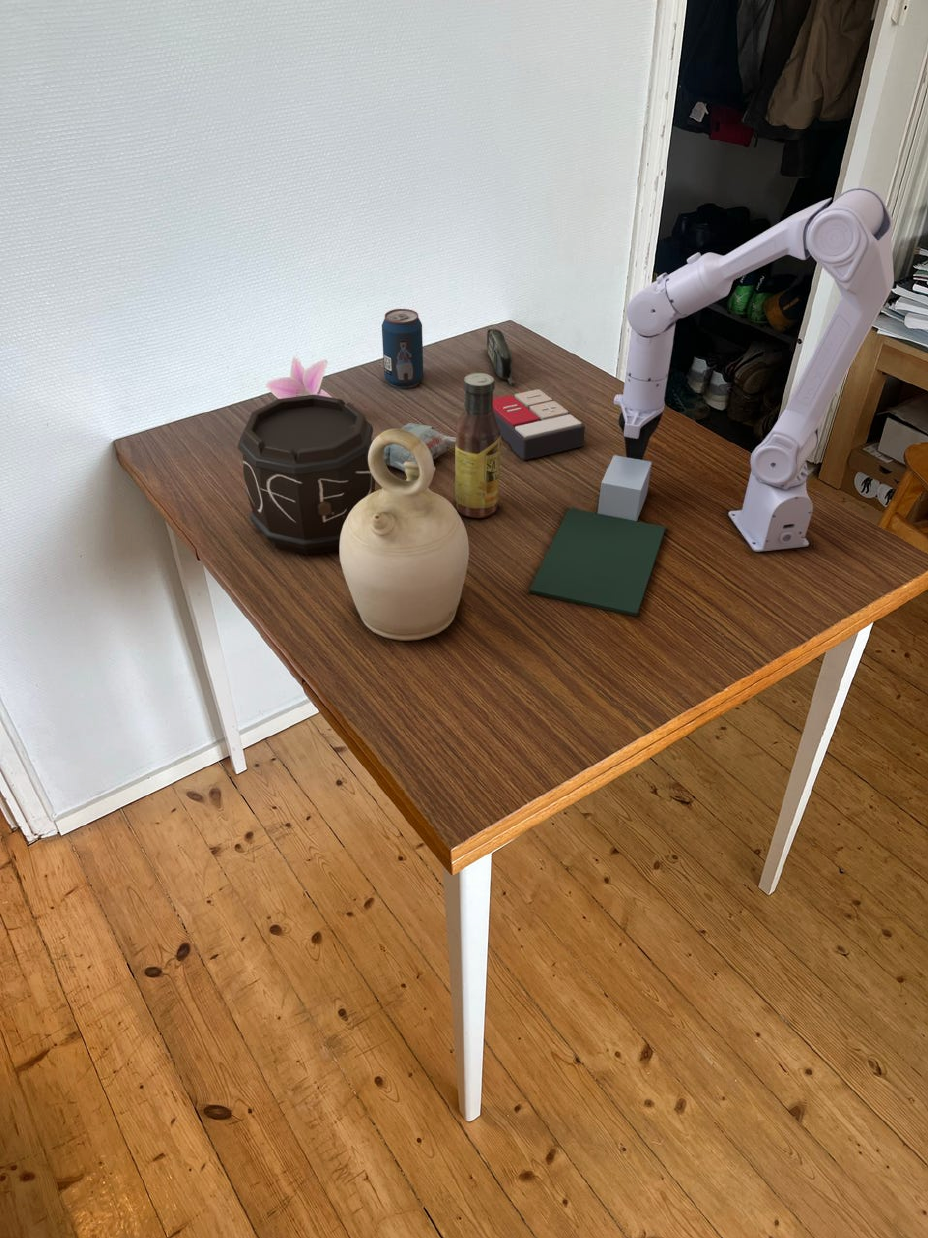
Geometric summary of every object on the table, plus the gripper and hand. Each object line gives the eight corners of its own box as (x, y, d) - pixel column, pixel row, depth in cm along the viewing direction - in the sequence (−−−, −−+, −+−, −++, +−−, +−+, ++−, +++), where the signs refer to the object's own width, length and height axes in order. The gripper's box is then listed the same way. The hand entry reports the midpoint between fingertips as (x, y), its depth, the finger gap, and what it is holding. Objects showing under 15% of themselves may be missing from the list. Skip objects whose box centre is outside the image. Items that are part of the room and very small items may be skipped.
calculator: (540, 385, 155) (586, 421, 144) (539, 409, 158) (584, 446, 147) (481, 398, 151) (524, 435, 141) (481, 422, 154) (523, 460, 143)
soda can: (407, 368, 168) (405, 303, 160) (431, 382, 164) (430, 316, 156) (376, 379, 165) (372, 313, 157) (399, 393, 161) (397, 326, 153)
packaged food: (458, 454, 145) (458, 426, 142) (412, 487, 137) (411, 458, 134) (414, 439, 149) (412, 411, 146) (367, 470, 141) (365, 442, 138)
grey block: (609, 487, 138) (613, 454, 134) (647, 494, 136) (652, 461, 133) (597, 515, 132) (601, 482, 128) (636, 523, 131) (641, 489, 127)
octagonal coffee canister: (260, 571, 122) (242, 468, 112) (245, 499, 135) (228, 400, 125) (393, 549, 126) (387, 447, 116) (366, 481, 139) (359, 384, 129)
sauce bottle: (494, 522, 131) (498, 393, 118) (450, 517, 132) (450, 388, 119) (501, 498, 136) (506, 371, 123) (460, 493, 136) (460, 367, 124)
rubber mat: (568, 511, 133) (568, 507, 133) (665, 530, 129) (665, 526, 129) (528, 592, 119) (529, 589, 118) (636, 617, 115) (637, 613, 115)
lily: (268, 411, 158) (247, 377, 149) (324, 372, 159) (307, 336, 150) (304, 457, 153) (285, 425, 144) (362, 416, 154) (346, 382, 145)
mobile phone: (484, 327, 171) (501, 359, 159) (500, 325, 171) (518, 358, 160) (484, 352, 174) (501, 386, 162) (500, 351, 174) (517, 385, 163)
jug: (402, 557, 124) (394, 385, 108) (493, 604, 117) (498, 427, 101) (319, 614, 115) (297, 435, 99) (412, 668, 108) (404, 485, 92)
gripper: (629, 346, 133) (618, 431, 142) (606, 390, 123) (596, 478, 132) (678, 354, 131) (664, 438, 140) (659, 398, 121) (645, 487, 130)
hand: (634, 458), depth 136 cm, fingers closed
